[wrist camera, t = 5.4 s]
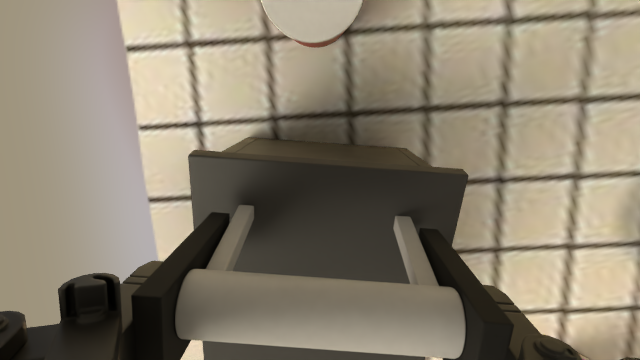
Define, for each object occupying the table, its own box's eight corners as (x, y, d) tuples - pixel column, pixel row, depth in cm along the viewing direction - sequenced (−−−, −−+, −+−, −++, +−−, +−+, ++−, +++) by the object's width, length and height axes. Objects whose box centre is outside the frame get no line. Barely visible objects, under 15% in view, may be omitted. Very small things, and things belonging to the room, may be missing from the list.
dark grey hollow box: (247, 137, 28) (211, 156, 19) (406, 148, 28) (442, 172, 19) (243, 310, 31) (211, 392, 22) (385, 320, 31) (408, 407, 22)
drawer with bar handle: (193, 149, 16) (85, 245, 9) (463, 168, 16) (566, 279, 9) (211, 392, 22) (153, 566, 15) (408, 407, 22) (444, 588, 15)
